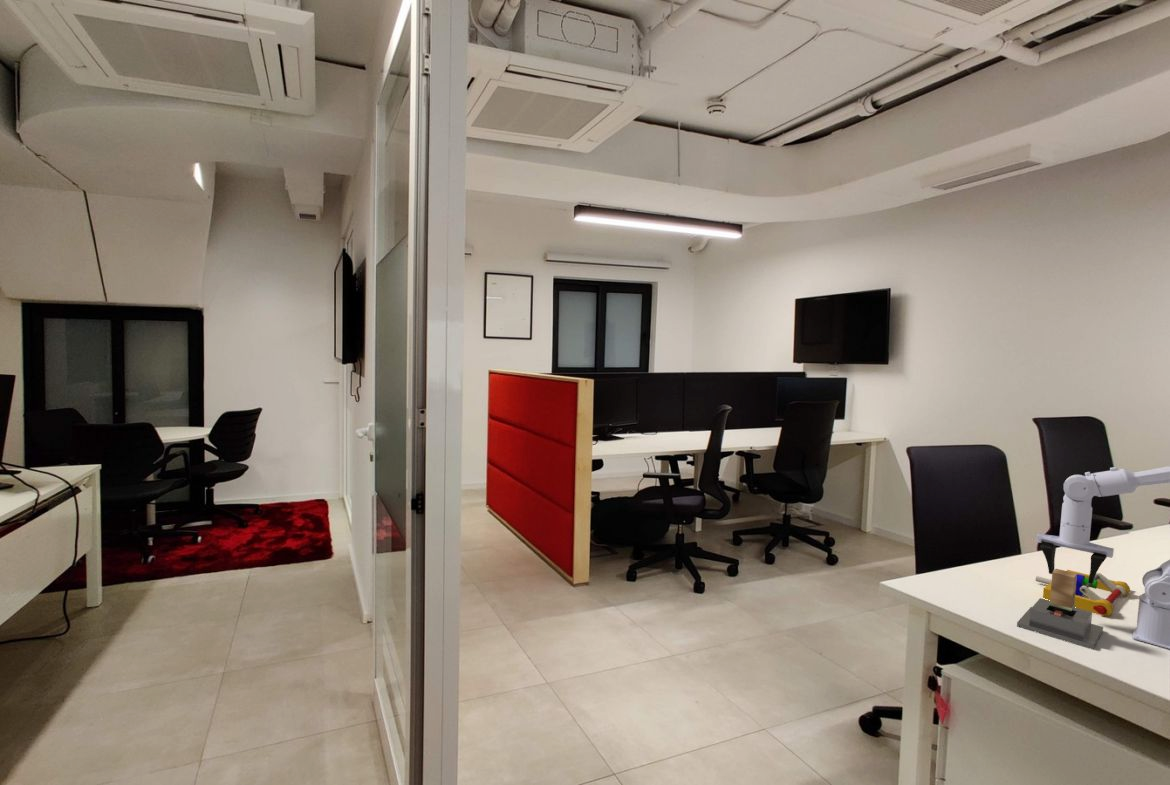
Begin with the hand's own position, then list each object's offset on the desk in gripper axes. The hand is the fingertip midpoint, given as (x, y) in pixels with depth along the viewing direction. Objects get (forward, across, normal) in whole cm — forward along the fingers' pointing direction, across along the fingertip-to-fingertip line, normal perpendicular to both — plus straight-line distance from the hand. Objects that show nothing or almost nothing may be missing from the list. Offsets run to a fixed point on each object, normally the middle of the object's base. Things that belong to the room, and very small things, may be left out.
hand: (1070, 577), depth 145 cm
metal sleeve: (+10, 0, +9) cm, 14 cm away
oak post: (+5, 0, +9) cm, 10 cm away
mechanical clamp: (+11, +1, -24) cm, 27 cm away
